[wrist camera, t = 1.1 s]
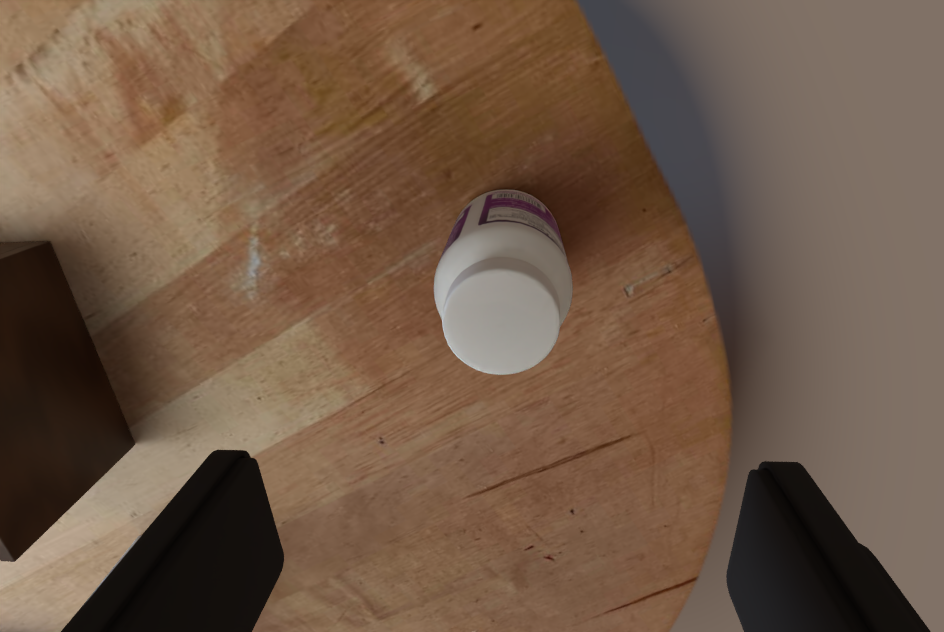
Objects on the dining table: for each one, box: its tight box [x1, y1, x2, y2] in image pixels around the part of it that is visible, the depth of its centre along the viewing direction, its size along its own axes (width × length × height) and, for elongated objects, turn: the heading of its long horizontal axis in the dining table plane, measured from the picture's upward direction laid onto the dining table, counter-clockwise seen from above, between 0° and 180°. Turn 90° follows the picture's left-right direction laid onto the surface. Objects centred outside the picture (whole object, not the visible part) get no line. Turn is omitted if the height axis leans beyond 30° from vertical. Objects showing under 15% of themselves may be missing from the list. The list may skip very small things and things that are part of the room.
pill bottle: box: [434, 189, 573, 375], centre depth 21 cm, size 5×5×10 cm
